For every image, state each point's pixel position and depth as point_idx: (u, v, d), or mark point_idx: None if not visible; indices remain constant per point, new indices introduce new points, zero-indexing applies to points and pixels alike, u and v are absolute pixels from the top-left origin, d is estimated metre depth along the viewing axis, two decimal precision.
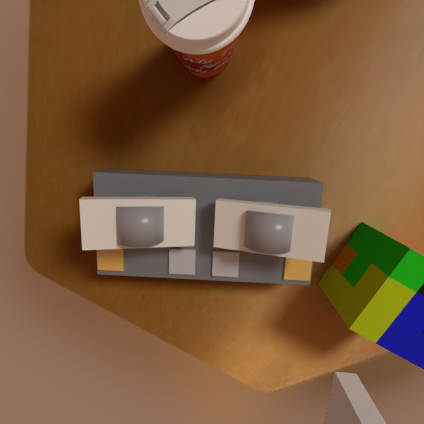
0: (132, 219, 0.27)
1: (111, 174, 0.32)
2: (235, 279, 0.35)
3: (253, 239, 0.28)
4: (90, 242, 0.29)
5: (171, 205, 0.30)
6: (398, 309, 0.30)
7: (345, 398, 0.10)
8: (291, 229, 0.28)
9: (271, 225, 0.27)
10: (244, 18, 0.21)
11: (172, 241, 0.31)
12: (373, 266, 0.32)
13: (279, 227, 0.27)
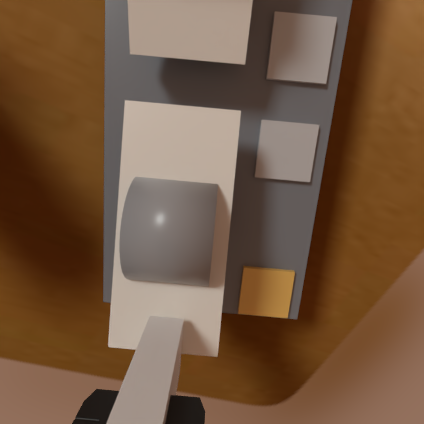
0: (142, 254, 0.12)
1: (106, 271, 0.18)
2: (342, 25, 0.15)
3: None
4: (202, 338, 0.13)
5: (134, 158, 0.13)
6: None
7: (162, 334, 0.12)
8: None
9: None
10: None
11: (222, 164, 0.13)
12: None
13: None
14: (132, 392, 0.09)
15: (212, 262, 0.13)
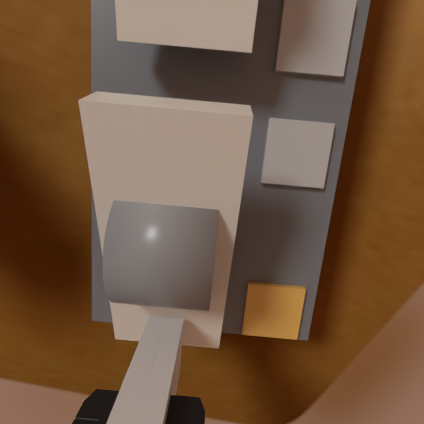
0: (132, 299, 0.10)
1: (95, 287, 0.16)
2: (362, 9, 0.13)
3: None
4: (203, 337, 0.14)
5: (108, 179, 0.10)
6: None
7: (162, 334, 0.12)
8: None
9: None
10: None
11: (224, 187, 0.10)
12: None
13: None
14: (132, 392, 0.09)
15: (213, 282, 0.12)
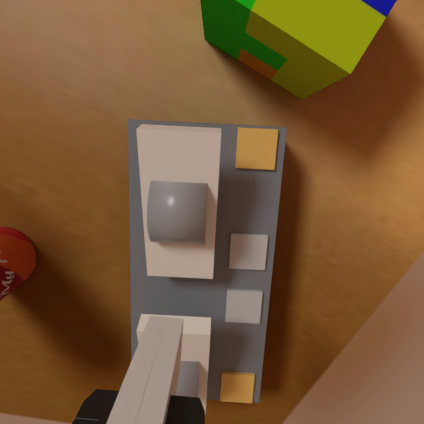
0: None
1: None
2: (272, 237, 0.24)
3: (187, 240, 0.19)
4: None
5: None
6: None
7: (162, 334, 0.12)
8: (171, 184, 0.19)
9: (160, 220, 0.18)
10: None
11: (200, 355, 0.21)
12: (247, 30, 0.19)
13: (163, 208, 0.18)
14: (132, 392, 0.09)
15: (199, 386, 0.24)
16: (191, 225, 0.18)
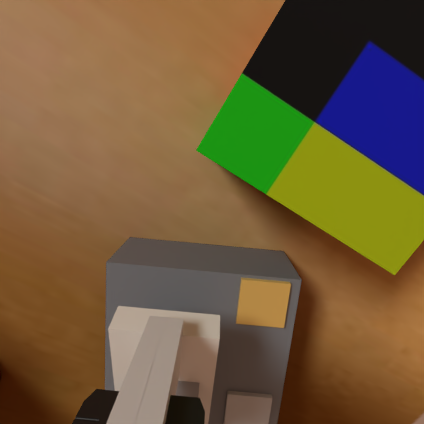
0: None
1: None
2: (277, 398, 0.20)
3: None
4: None
5: None
6: (358, 164, 0.12)
7: (162, 334, 0.12)
8: None
9: None
10: None
11: None
12: None
13: None
14: (132, 392, 0.09)
15: None
16: None
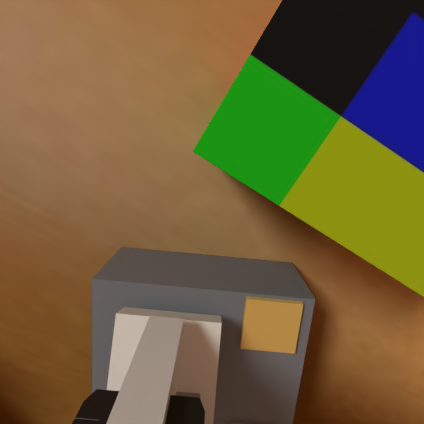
0: None
1: None
2: None
3: None
4: None
5: None
6: (393, 168, 0.09)
7: (162, 334, 0.12)
8: None
9: None
10: None
11: None
12: None
13: None
14: (132, 392, 0.09)
15: None
16: None
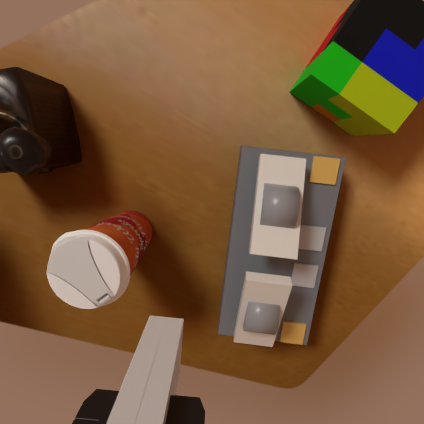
0: (252, 330, 0.34)
1: (221, 320, 0.40)
2: (328, 229, 0.36)
3: (286, 216, 0.30)
4: (267, 342, 0.37)
5: (248, 296, 0.33)
6: (379, 80, 0.28)
7: (162, 334, 0.12)
8: (276, 184, 0.32)
9: (272, 198, 0.30)
10: (106, 239, 0.29)
11: (282, 300, 0.33)
12: (330, 99, 0.31)
13: (274, 192, 0.31)
14: (132, 392, 0.09)
15: None
16: (291, 203, 0.30)
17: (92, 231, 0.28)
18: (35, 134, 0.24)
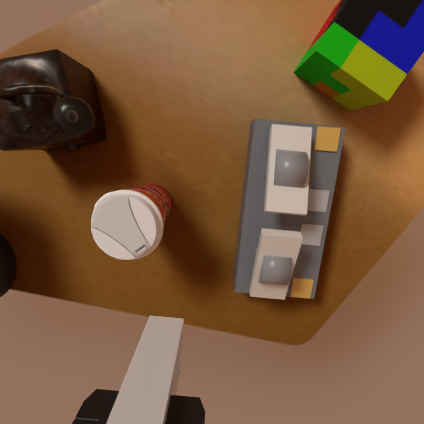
0: (268, 281, 0.39)
1: (237, 279, 0.44)
2: (331, 192, 0.41)
3: (297, 176, 0.35)
4: (280, 295, 0.42)
5: (264, 250, 0.38)
6: (374, 55, 0.33)
7: (162, 334, 0.12)
8: (287, 150, 0.36)
9: (284, 160, 0.35)
10: (143, 197, 0.33)
11: (293, 252, 0.38)
12: (331, 74, 0.36)
13: (286, 155, 0.35)
14: (132, 392, 0.09)
15: None
16: (301, 164, 0.35)
17: (130, 191, 0.33)
18: (86, 102, 0.28)
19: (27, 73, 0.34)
